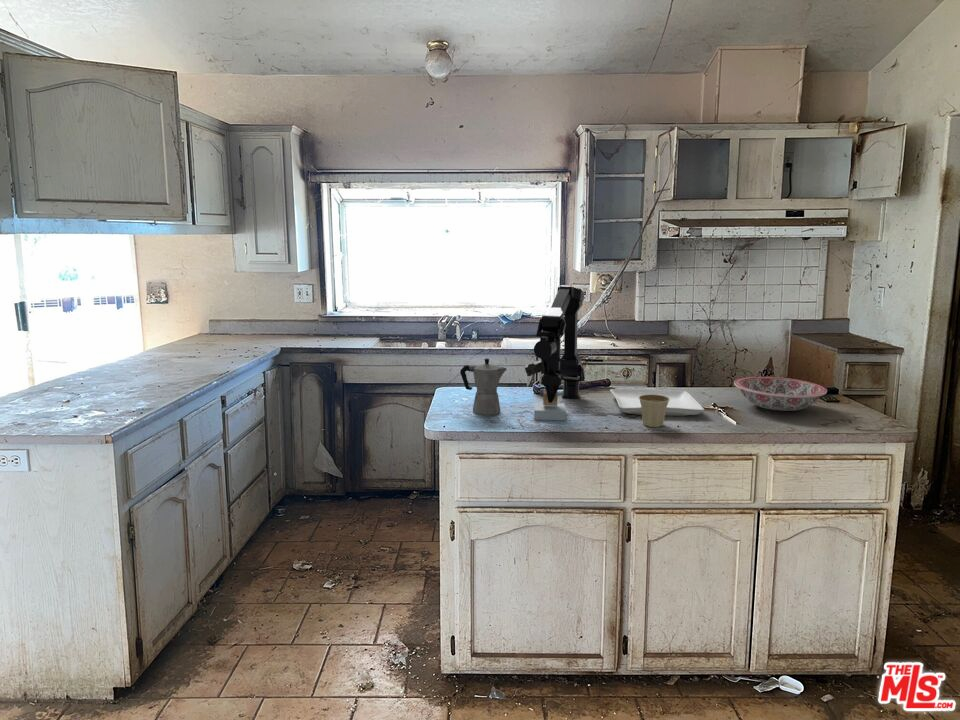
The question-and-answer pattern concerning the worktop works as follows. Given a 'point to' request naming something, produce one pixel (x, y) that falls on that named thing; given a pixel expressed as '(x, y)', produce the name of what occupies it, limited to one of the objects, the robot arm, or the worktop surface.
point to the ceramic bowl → (780, 392)
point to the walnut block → (545, 399)
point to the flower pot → (653, 409)
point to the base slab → (550, 412)
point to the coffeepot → (484, 387)
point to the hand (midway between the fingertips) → (550, 400)
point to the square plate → (679, 400)
